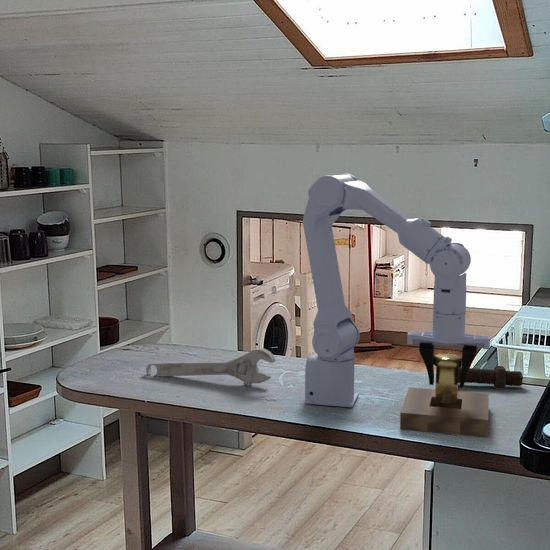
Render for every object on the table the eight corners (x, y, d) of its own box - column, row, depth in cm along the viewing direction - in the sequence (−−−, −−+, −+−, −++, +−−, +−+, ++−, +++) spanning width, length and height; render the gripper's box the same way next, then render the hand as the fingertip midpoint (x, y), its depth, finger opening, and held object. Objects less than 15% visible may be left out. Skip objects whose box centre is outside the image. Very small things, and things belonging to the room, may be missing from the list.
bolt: (521, 397, 163) (446, 392, 165) (518, 379, 167) (446, 374, 169) (525, 378, 159) (449, 373, 161) (523, 360, 163) (448, 355, 165)
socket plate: (400, 428, 140) (400, 412, 140) (408, 402, 154) (408, 387, 154) (487, 436, 136) (488, 420, 136) (487, 408, 150) (488, 393, 150)
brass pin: (431, 403, 144) (433, 361, 142) (432, 393, 148) (434, 352, 146) (459, 405, 142) (461, 363, 141) (460, 395, 147) (462, 354, 145)
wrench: (152, 386, 175) (278, 385, 164) (148, 388, 173) (275, 387, 162) (147, 351, 174) (274, 347, 163) (143, 353, 172) (271, 349, 161)
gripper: (491, 309, 144) (488, 380, 146) (410, 305, 148) (408, 375, 150) (491, 317, 137) (487, 392, 139) (406, 313, 141) (405, 386, 143)
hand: (446, 384), depth 144 cm, fingers closed on brass pin, 5 cm apart
